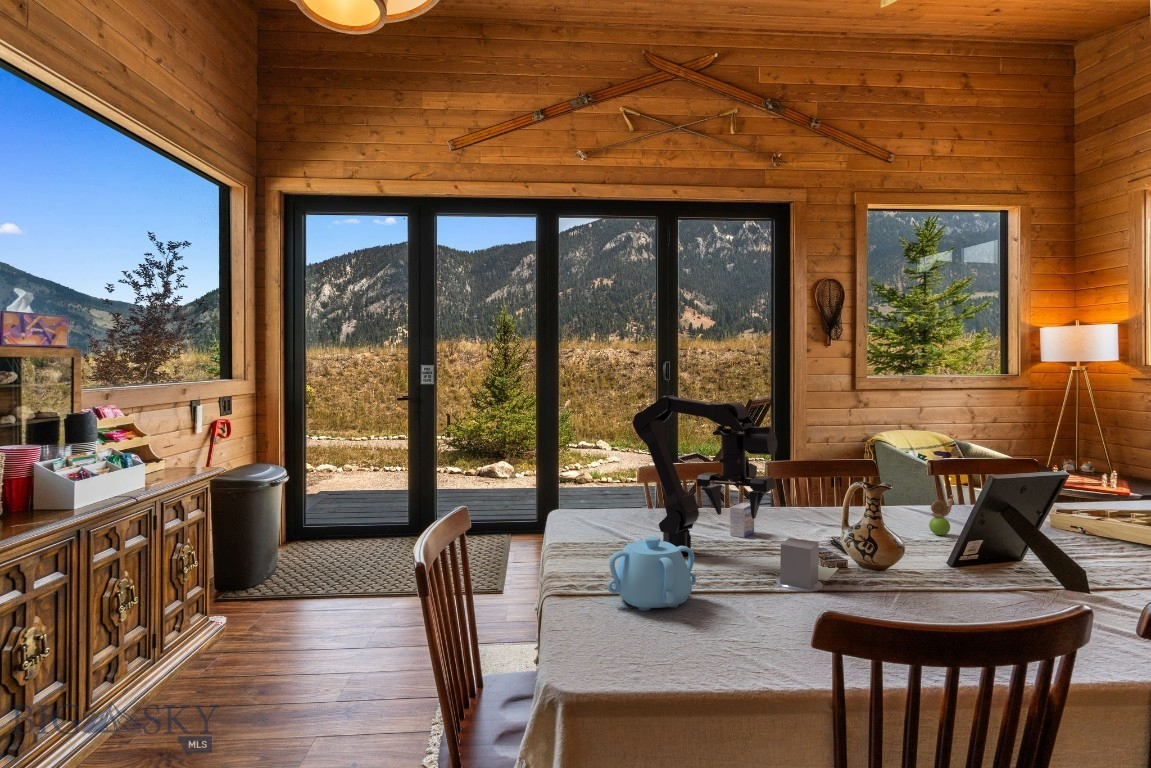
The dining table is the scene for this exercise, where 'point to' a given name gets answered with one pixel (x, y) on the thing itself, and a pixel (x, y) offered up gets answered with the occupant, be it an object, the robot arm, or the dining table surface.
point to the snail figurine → (940, 516)
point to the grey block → (799, 563)
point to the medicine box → (741, 520)
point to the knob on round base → (814, 588)
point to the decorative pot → (652, 574)
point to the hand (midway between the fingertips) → (736, 516)
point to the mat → (825, 572)
